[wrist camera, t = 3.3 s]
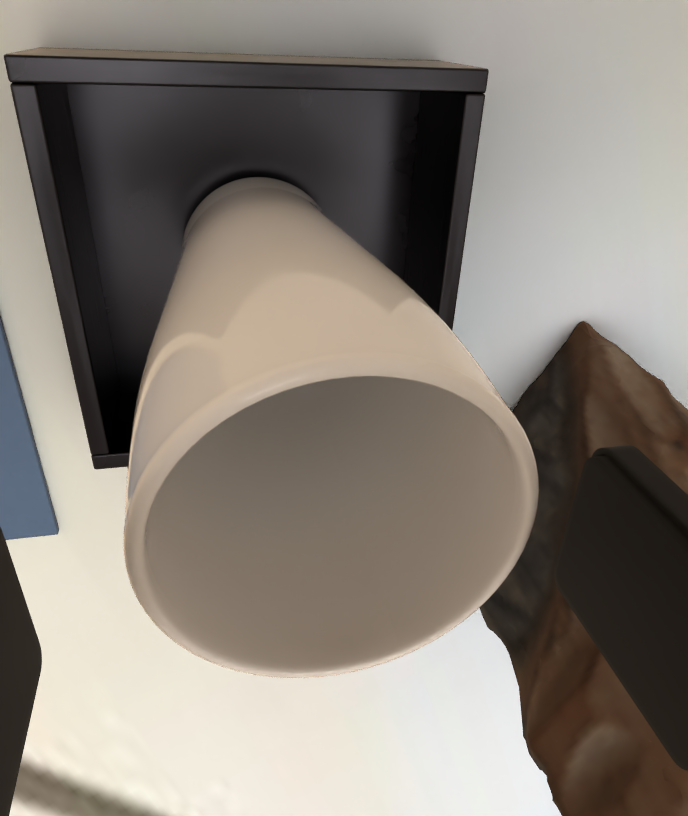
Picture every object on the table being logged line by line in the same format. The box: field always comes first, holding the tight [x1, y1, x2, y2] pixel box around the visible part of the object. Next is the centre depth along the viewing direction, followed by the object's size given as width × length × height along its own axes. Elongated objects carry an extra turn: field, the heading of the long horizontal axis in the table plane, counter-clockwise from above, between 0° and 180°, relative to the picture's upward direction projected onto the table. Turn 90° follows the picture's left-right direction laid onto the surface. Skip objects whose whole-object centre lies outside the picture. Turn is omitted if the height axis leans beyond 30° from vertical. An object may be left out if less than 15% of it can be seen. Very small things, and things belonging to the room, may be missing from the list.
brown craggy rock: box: [479, 322, 688, 816], centre depth 23 cm, size 13×13×20 cm
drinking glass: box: [124, 177, 539, 678], centre depth 16 cm, size 7×7×15 cm
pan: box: [4, 48, 488, 469], centre depth 21 cm, size 12×12×4 cm
